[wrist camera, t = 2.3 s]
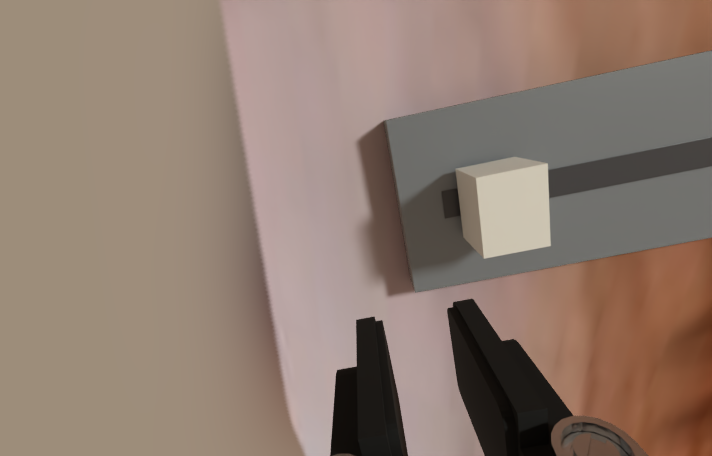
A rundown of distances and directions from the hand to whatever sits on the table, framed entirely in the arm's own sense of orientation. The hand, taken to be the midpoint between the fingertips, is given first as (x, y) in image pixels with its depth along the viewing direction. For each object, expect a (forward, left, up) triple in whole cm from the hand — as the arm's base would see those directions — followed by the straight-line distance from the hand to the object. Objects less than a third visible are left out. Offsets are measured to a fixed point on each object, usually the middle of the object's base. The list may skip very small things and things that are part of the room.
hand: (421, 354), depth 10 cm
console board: (0, +19, -17) cm, 25 cm away
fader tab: (0, +7, -15) cm, 17 cm away
